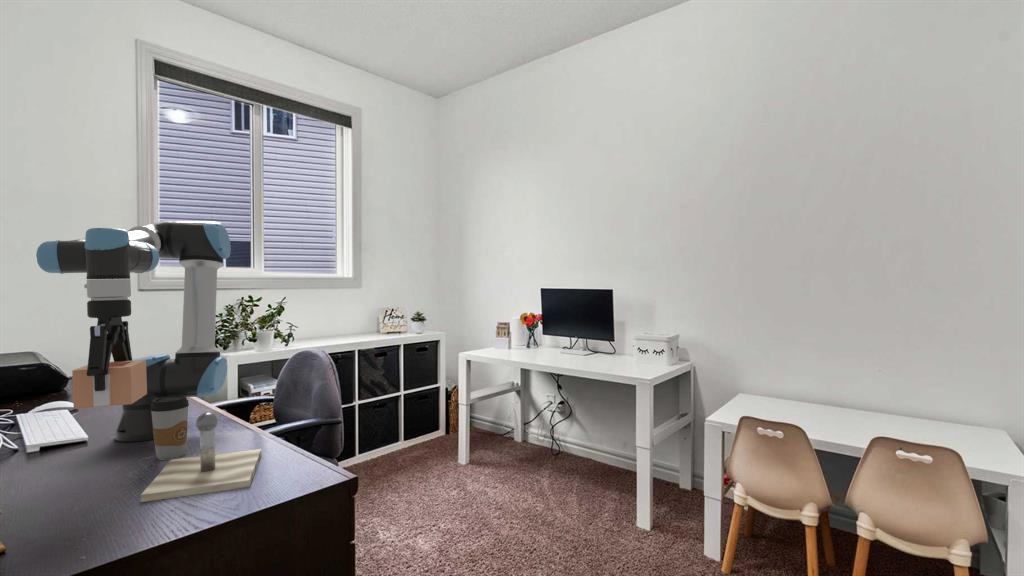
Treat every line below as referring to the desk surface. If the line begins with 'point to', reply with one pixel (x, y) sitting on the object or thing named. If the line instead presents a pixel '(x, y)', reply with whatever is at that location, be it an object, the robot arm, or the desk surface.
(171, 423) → the coffee cup
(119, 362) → the open top tan bin
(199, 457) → the wooden peg stand
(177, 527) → the desk surface
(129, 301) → the robot arm
